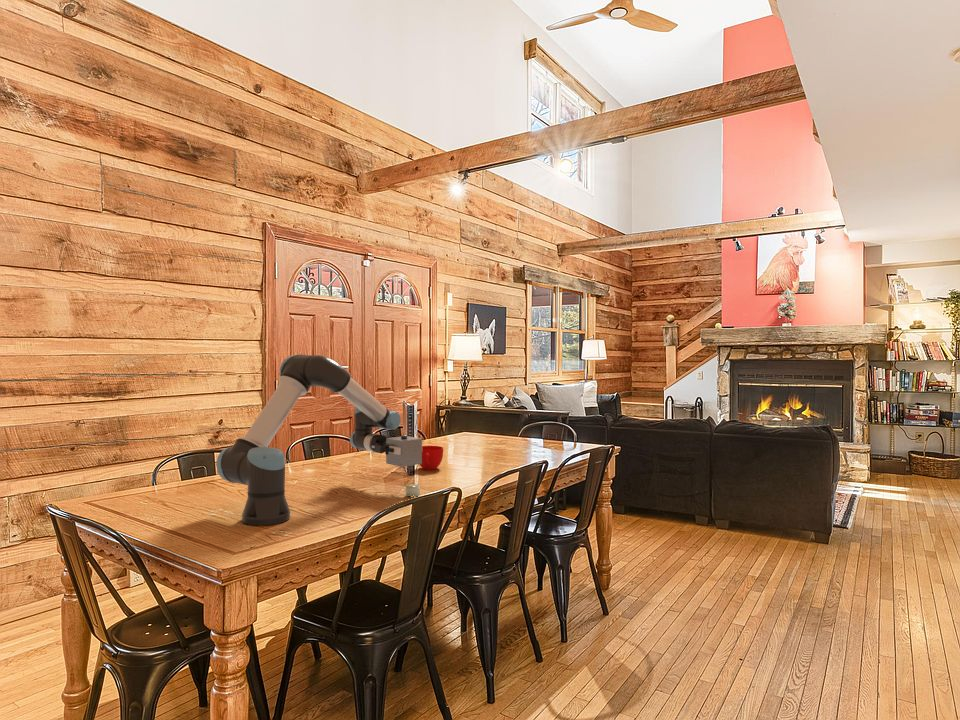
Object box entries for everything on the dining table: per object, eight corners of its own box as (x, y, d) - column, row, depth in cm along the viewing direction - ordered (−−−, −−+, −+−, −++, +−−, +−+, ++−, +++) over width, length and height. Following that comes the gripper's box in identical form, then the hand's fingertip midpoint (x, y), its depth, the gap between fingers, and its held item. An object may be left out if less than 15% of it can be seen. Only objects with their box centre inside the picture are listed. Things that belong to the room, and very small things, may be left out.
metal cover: (421, 463, 241) (422, 435, 241) (401, 467, 234) (402, 438, 234) (405, 460, 248) (406, 433, 248) (386, 463, 241) (386, 435, 240)
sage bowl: (421, 497, 235) (421, 486, 234) (408, 498, 232) (408, 488, 232) (417, 493, 240) (417, 483, 240) (403, 495, 237) (403, 485, 237)
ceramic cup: (413, 472, 280) (413, 451, 280) (418, 465, 297) (418, 445, 297) (440, 473, 280) (441, 451, 279) (444, 466, 296) (444, 445, 296)
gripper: (398, 449, 261) (432, 455, 246) (354, 455, 245) (387, 463, 230) (398, 431, 261) (432, 437, 246) (354, 436, 245) (387, 443, 229)
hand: (411, 449), depth 238 cm, fingers closed on metal cover, 10 cm apart
